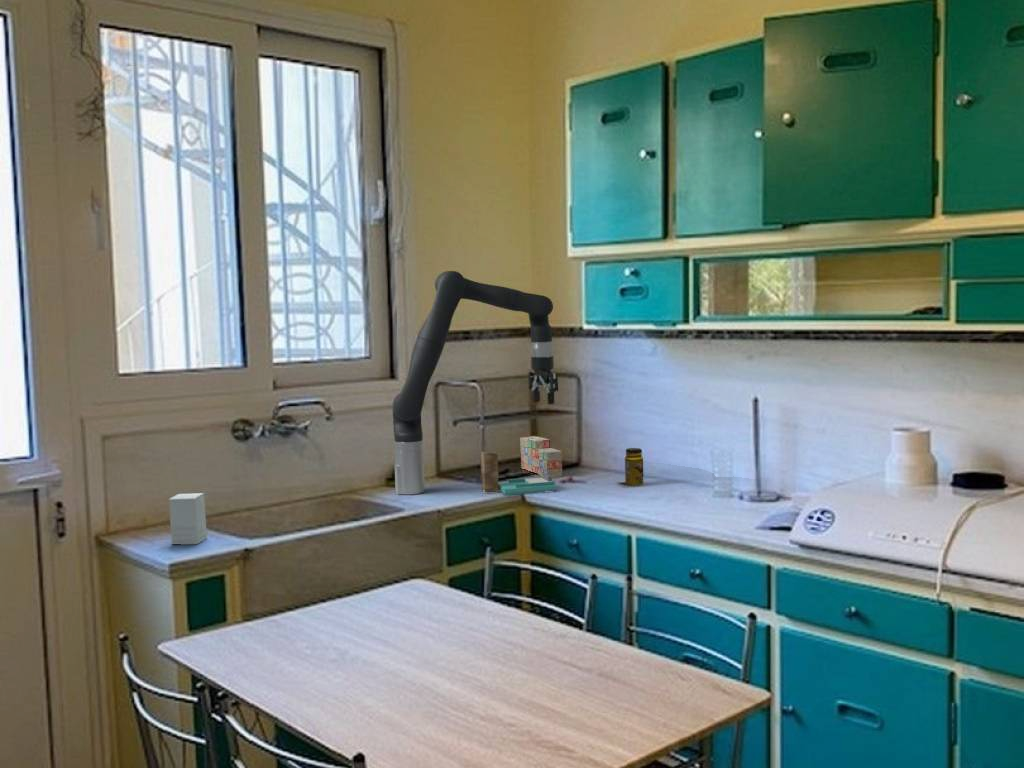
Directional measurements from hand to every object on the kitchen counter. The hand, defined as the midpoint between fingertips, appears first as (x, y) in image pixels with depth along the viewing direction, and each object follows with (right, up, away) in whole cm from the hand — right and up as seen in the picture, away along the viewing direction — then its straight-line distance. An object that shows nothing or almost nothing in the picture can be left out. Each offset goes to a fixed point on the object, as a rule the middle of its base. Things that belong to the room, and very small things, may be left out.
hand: (543, 403), depth 341 cm
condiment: (+29, -27, -5) cm, 40 cm away
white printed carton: (0, -26, +22) cm, 34 cm away
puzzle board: (-6, -28, -9) cm, 31 cm away
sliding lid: (-2, -26, -8) cm, 27 cm away
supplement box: (-98, -36, -68) cm, 125 cm away
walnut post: (-18, -29, -10) cm, 35 cm away
